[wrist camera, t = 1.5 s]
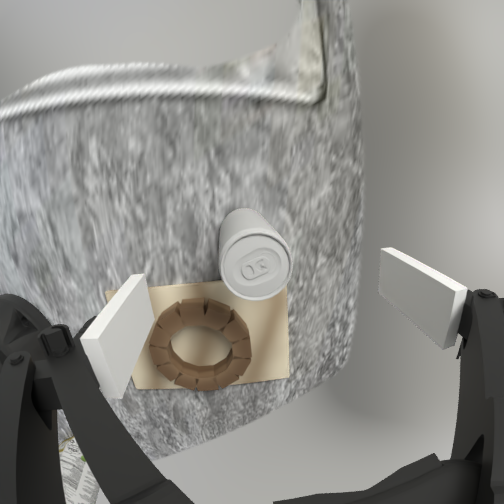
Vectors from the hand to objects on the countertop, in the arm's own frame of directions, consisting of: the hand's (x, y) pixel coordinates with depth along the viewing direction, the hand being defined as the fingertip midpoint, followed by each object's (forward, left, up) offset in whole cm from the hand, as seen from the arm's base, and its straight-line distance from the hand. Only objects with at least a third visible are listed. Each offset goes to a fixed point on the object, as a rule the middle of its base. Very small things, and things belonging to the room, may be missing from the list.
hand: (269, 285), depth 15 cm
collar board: (-6, -12, -15) cm, 20 cm away
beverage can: (0, 0, -15) cm, 15 cm away
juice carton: (-33, -36, -15) cm, 51 cm away
